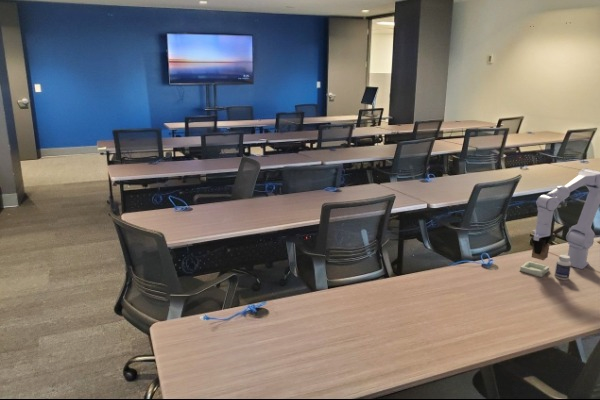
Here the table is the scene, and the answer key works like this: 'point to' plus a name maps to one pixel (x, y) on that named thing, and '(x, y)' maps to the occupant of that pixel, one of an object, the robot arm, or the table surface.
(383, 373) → the table surface
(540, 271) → the tray
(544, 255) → the walnut block
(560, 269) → the pill bottle
